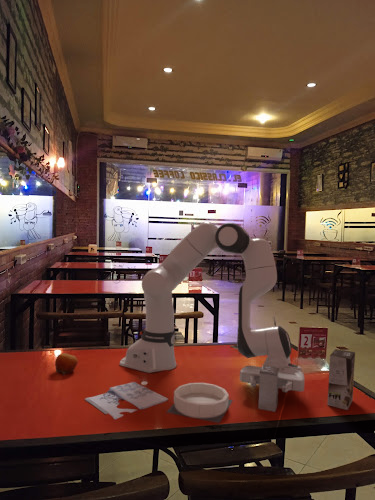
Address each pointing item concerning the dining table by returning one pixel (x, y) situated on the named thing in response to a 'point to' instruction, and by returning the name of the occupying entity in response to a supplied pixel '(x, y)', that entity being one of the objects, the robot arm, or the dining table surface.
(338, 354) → the coffee box
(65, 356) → the fruit
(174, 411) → the mat
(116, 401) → the printed paper sheets
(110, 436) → the dining table surface
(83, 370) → the dining table surface
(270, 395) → the tin
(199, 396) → the bowl
